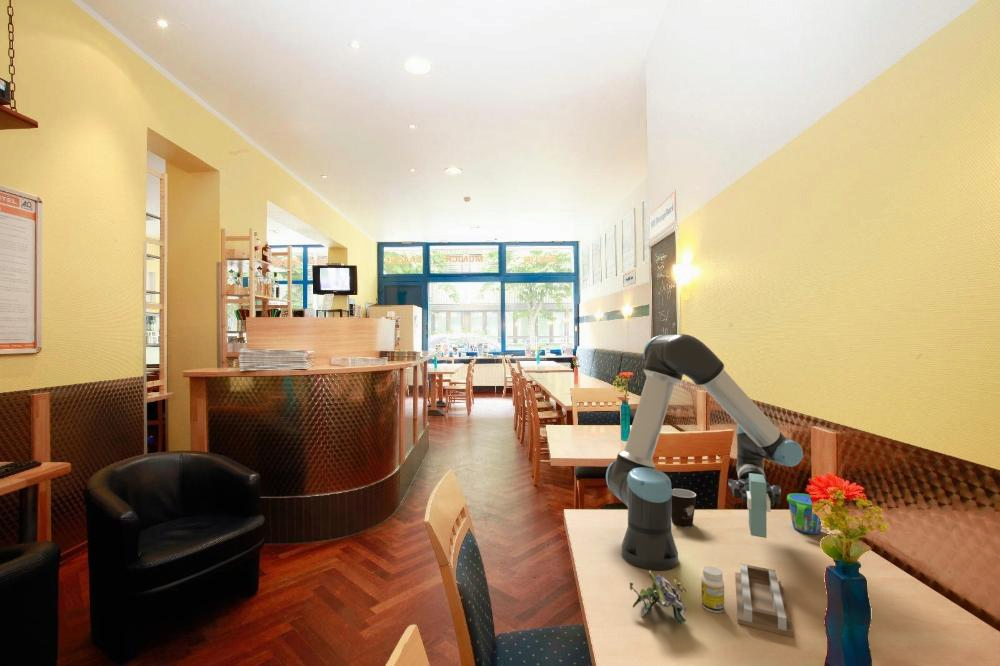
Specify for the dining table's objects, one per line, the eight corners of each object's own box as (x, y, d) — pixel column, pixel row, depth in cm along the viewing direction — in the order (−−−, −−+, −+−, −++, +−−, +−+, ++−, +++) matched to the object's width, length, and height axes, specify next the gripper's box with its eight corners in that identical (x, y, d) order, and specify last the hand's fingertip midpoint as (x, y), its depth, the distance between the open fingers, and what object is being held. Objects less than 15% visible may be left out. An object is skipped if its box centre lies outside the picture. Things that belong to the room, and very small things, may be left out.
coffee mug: (691, 518, 155) (691, 489, 155) (700, 529, 146) (700, 498, 146) (656, 517, 156) (656, 488, 156) (662, 527, 147) (662, 496, 148)
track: (735, 576, 117) (735, 562, 117) (780, 585, 113) (780, 571, 113) (738, 623, 97) (738, 607, 97) (793, 637, 93) (793, 620, 93)
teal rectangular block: (748, 524, 125) (748, 473, 125) (763, 526, 123) (763, 474, 123) (750, 535, 118) (750, 481, 118) (766, 537, 116) (766, 483, 116)
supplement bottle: (703, 599, 107) (703, 562, 107) (726, 605, 104) (726, 568, 104) (699, 608, 103) (699, 571, 103) (722, 616, 100) (722, 577, 100)
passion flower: (677, 645, 98) (701, 620, 92) (629, 637, 98) (649, 610, 91) (666, 592, 108) (686, 565, 101) (621, 584, 107) (639, 557, 101)
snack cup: (816, 542, 137) (816, 508, 137) (778, 530, 146) (778, 498, 146) (834, 529, 147) (834, 498, 147) (797, 519, 155) (797, 489, 155)
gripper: (784, 496, 133) (797, 526, 112) (721, 488, 140) (722, 514, 119) (784, 471, 133) (797, 495, 112) (721, 464, 140) (722, 485, 119)
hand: (759, 505), depth 116 cm, fingers closed on teal rectangular block, 3 cm apart
